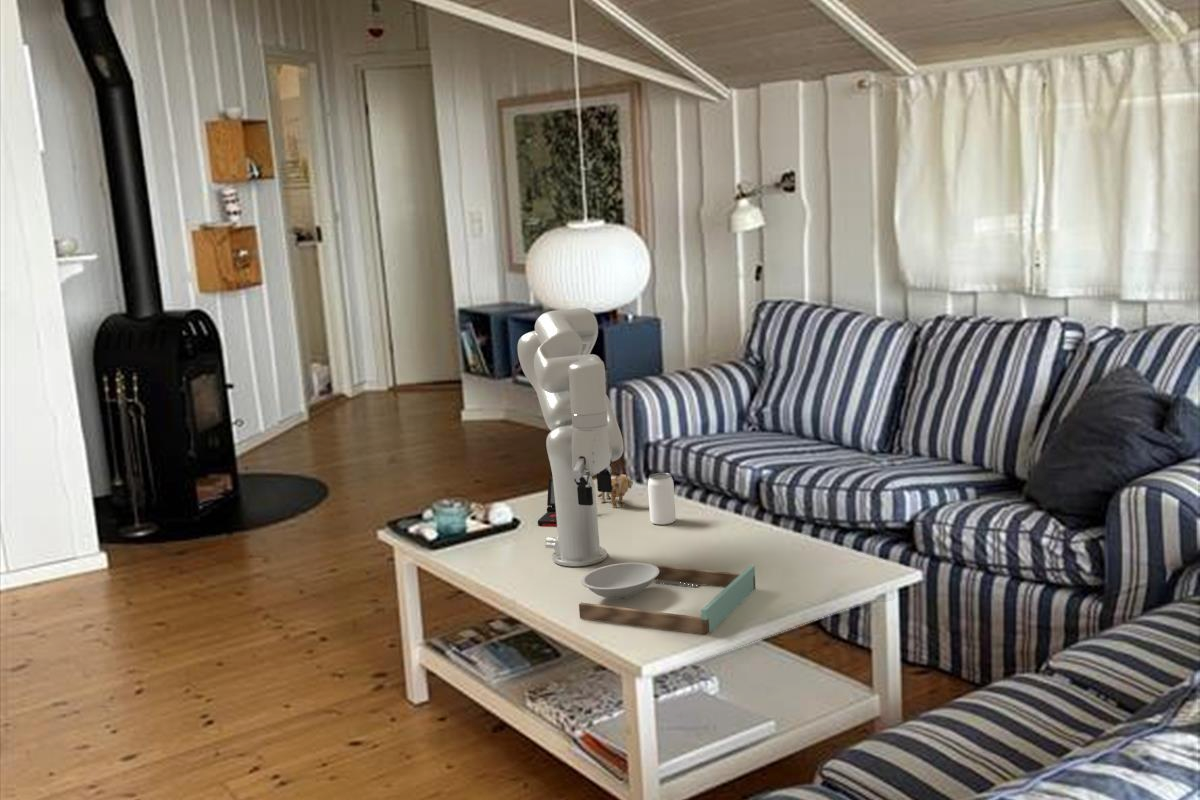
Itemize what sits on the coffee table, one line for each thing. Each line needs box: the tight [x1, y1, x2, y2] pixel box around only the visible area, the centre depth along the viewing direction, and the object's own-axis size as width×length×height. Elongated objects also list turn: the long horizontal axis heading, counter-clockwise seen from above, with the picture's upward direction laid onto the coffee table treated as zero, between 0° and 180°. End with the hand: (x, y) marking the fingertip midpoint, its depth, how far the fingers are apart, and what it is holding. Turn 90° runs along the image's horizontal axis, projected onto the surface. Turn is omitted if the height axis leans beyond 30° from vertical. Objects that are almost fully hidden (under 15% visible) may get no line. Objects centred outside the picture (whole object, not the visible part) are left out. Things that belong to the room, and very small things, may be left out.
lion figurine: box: [597, 474, 634, 509], centre depth 324 cm, size 15×5×9 cm, turn 35°
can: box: [647, 472, 677, 526], centre depth 305 cm, size 6×6×12 cm
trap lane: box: [578, 563, 756, 635], centre depth 250 cm, size 28×26×5 cm
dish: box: [580, 562, 659, 600], centre depth 255 cm, size 18×14×5 cm
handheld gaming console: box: [537, 476, 557, 527], centre depth 314 cm, size 9×12×10 cm
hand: (595, 498), depth 258 cm, fingers open, 9 cm apart
